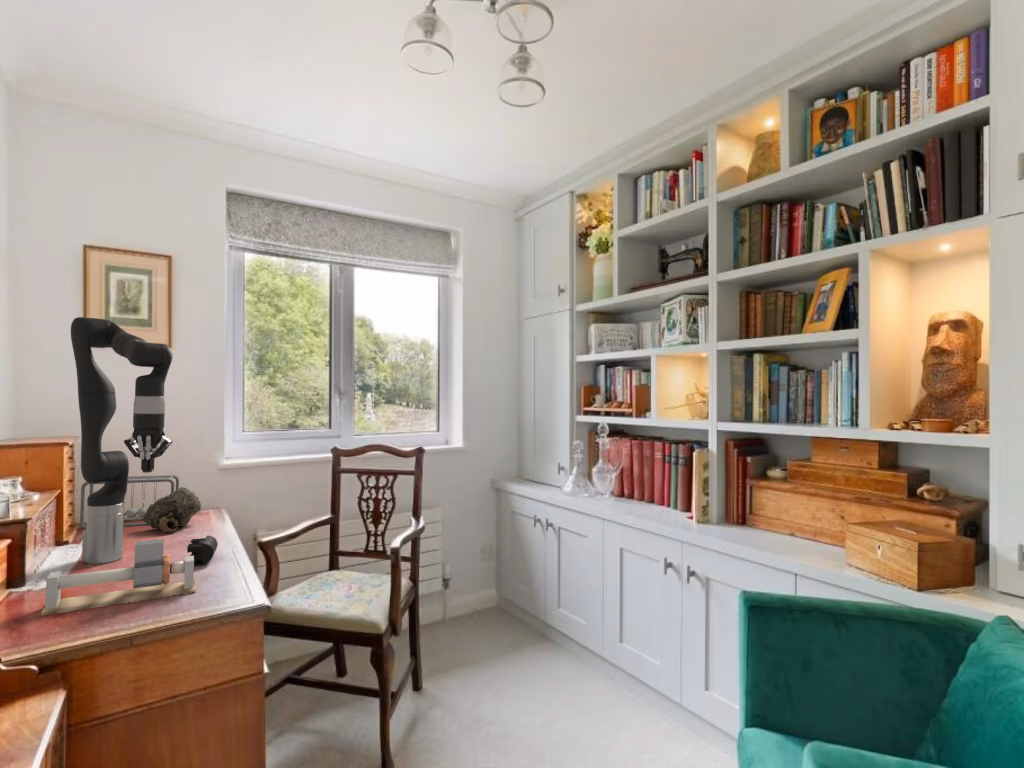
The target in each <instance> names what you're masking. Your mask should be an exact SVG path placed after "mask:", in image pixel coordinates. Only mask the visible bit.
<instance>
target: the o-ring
mask: <svg viewBox="0 0 1024 768" xmlns="http://www.w3.org/2000/svg"><path fill="white" fill-rule="evenodd" d="M170 564H171V555H170V554H169V553H165V554H163V567H162V585H165V584H170V579H171V576H170V575H171V574H170Z"/></svg>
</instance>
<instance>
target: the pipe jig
mask: <svg viewBox="0 0 1024 768" xmlns="http://www.w3.org/2000/svg"><path fill="white" fill-rule="evenodd" d="M194 570H195V566H194V556H190V555H189V556H188V555H187V556H185V557H184V560H181V561H173V562H170V575H177V574H183V573H184V577H183V578H184V580H183V582H184V589H191V588H193V581H194V577H195V576H194V572H195V571H194ZM45 580H46V584H45V605H44V607H45V610H46V609H52V608H57V606H58V604H59V602H60V599H62V598H61V592H62V590H63V589H71V588H78V587H84V586H85V587H86V586H93V585H94V586H95V585H101V584H107V583H117V582H123V581H130V580H134V566H130V567H124V568H123V567H122V568H115V569H105V570H99V571H90V572H84V573H83V572H82V573H75V574H74V573H73V574H66V575H62V571H61V570H60V571H52V572H50V573H49V575H47V577H46V579H45Z"/></svg>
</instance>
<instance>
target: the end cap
mask: <svg viewBox="0 0 1024 768" xmlns="http://www.w3.org/2000/svg"><path fill="white" fill-rule="evenodd" d="M205 536H206V537H203V538H202V537H201V538H192V539H191V540H190V543H188V545H187V546H186V547H187V549H186V553H188V554H189V553H191V554H190V555H189V556H194V567H201V565H202V566H205V565H207V564H208V563H209V562H210V561H211V560H212V559H213V558H214V555H215V553H216V550H217V548H218V545H219V544H218V541H217V539H216V538H215V537H214V536H212V535H205Z"/></svg>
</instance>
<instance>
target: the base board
mask: <svg viewBox="0 0 1024 768" xmlns="http://www.w3.org/2000/svg"><path fill="white" fill-rule="evenodd" d="M192 592H195V593H196V580H194V579H193V588H191V589H184V581H181V582H174V583H168V584H162V585H156V586H149V587H142V588H134V589H133V588H131V589H122V590H117V591H108V592H101V593H93V594H87V595H86V594H85V595H80V596H72V597H64V598H60V602H59V604H58V606H57V608H52V609H46V610H45V606H44V607H43V608H42V610H41V612H40V616H47V615H54V614H55V613H56V614H61V613H68V612H69V613H70V612H74V611H75V610H76V611H83V610H88V609H95V608H101V607H108V606H116V605H122V604H121V603H123V604H128V602H130V603H135V601H136V602H142V601H141V600H143V601H148V599H150V600H155V599H154V598H157V599H161V598H160V597H163V598H166V597H165V596H170V597H172V596H171V595H177V594H183V595H186V594H185V593H190V594H193V593H192ZM177 596H178V595H177ZM115 604H116V605H115ZM82 609H83V610H82Z"/></svg>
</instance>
